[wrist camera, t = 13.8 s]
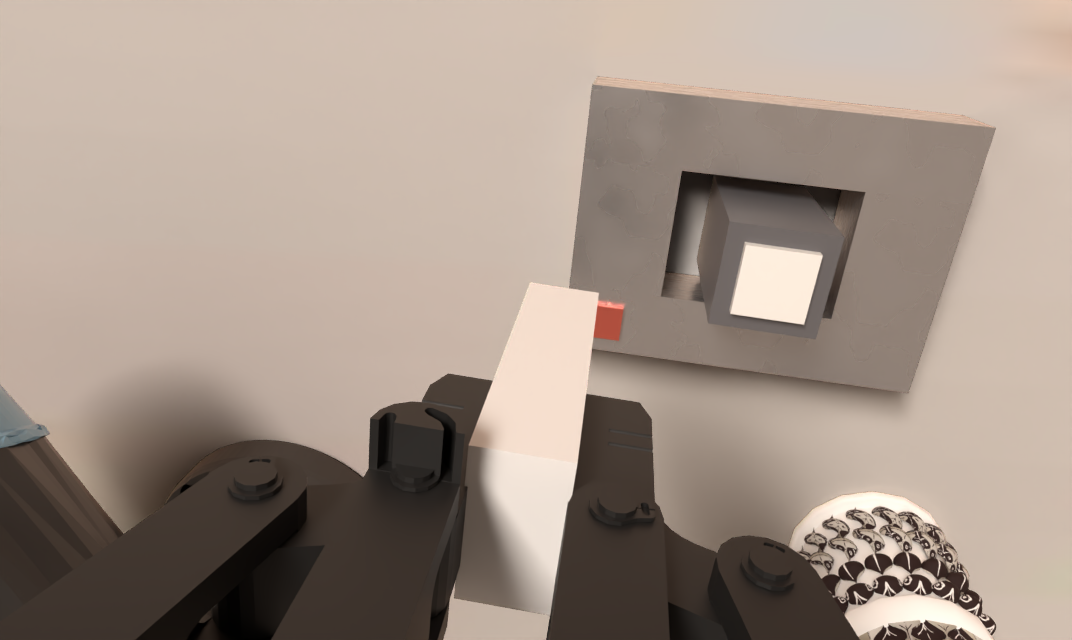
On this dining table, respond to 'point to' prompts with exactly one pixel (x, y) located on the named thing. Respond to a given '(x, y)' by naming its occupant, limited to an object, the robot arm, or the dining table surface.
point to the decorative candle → (891, 569)
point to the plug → (766, 257)
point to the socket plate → (790, 157)
